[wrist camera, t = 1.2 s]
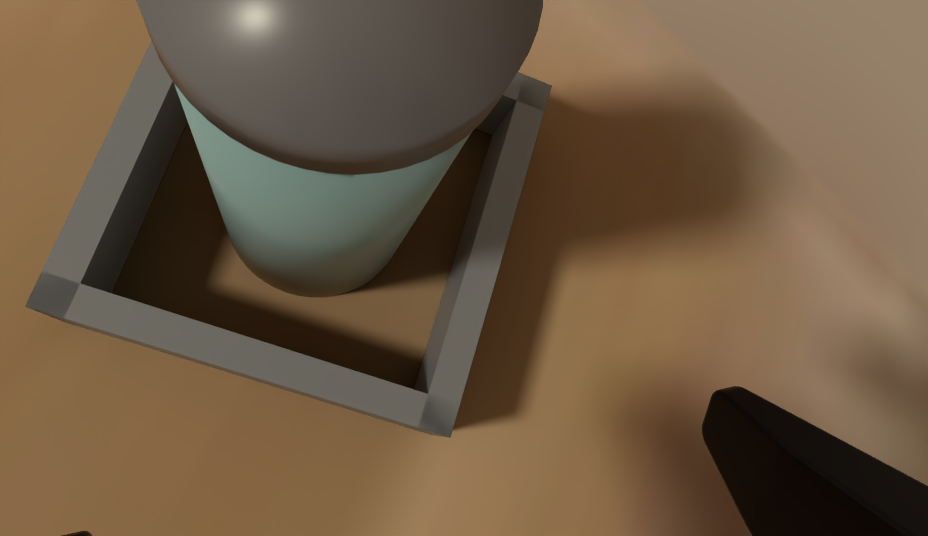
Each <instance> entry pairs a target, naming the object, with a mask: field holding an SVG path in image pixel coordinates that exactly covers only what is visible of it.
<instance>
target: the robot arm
mask: <svg viewBox="0 0 928 536" xmlns="http://www.w3.org/2000/svg"><path fill="white" fill-rule="evenodd" d="M702 434H703V438H704V441H705V444H706V446H707V448H708V450H709V452H710V454H711V456H712V458H713V460H714V462H715V464H716V466H717V468H718V470H719V472H720V474H721V476H722V478H723V480H724V482H725V484H726V486H727V488H728V490H729V492H730V494H731V496H732V498H733V500H734V502H735V504H736V506H737V508H738V510H739V512H740V514H741V516H742V518H743V520H744V522H745V524H746V525H747V527H748V529H749V531H750V532H751V534H752V536H928V486H926V485H925V484H923V483H921V482H919V481H917V480H915V479H913V478H911V477H910V476H908V475H906V474H904V473H902V472H900V471H898V470H896V469H895V468H893V467H891V466H889V465H887V464H885V463H883V462H881V461H880V460H878V459H876V458H874V457H872V456H870V455H868V454H867V453H865V452H863V451H861V450H859V449H857V448H855V447H853V446H852V445H850V444H848V443H846V442H844V441H842V440H840V439H838V438H837V437H835V436H833V435H831V434H829V433H827V432H825V431H823V430H822V429H820V428H818V427H816V426H814V425H812V424H810V423H808V422H807V421H805V420H803V419H801V418H799V417H797V416H795V415H793V414H792V413H790V412H788V411H786V410H784V409H782V408H780V407H778V406H777V405H775V404H773V403H771V402H769V401H767V400H765V399H763V398H762V397H760V396H758V395H756V394H754V393H752V392H750V391H748V390H747V389H744V388H742V387H738V386H734V387H729V388H725V389H720V390H717V391H715V392H714V393H713V394H712V396H711V399H710V402H709V405H708V409H707V412H706V415H705V418H704V421H703V424H702ZM62 536H92V535H91V533H89V532H88V531H80V532H76V533H71V534H67V535H62Z"/></svg>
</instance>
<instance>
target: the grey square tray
mask: <svg viewBox="0 0 928 536" xmlns="http://www.w3.org/2000/svg"><path fill="white" fill-rule="evenodd" d="M551 87H552V86H551V85H549V84H546V83H544V82H541V81H539V80H536V79H534V78H531V77H529V76H526V75H524V74H521V73H519V72H517V74H516V75H515V77H514V78H513V80H512V81H511V83H510V84H509V86H508V87H507V89H506V90H505V92H504V94H503V95H502V97H501V98H500V100H499V101H498V103H497V104H496V105H495V107H494V108H493V109H492V111H491V112H490V113H489V114H488V116H487V117H486V118H485V119H484V121H483V122H482V123H481V124H480V125H479V126H477V127H476V128H475V129H478V130H480V131H483V132H485V133H488V134H491V135H492V137H491V140H490V143H489V147H488V150H487V153H486V156H485V160H484V163H483V166H482V169H481V173H480V176H479V179H478V182H477V186H476V189H475V192H474V195H473V199H472V202H471V205H470V208H469V212H468V215H467V218H466V221H465V225H464V228H463V231H462V234H461V238H460V241H459V244H458V247H457V251H456V254H455V257H454V260H453V264H452V267H451V270H450V273H449V276H448V280H447V283H446V286H445V289H444V293H443V296H442V299H441V302H440V306H439V309H438V312H437V315H436V319H435V322H434V325H433V328H432V332H431V335H430V338H429V341H428V345H427V348H426V351H425V354H424V358H423V361H422V364H421V367H420V371H419V374H418V377H417V380H416V384H415V387H414V389H411V388H408V387H405V386H401V385H398V384H395V383H392V382H389V381H386V380H382V379H379V378H376V377H373V376H370V375H367V374H364V373H360V372H357V371H354V370H351V369H348V368H345V367H342V366H338V365H335V364H332V363H329V362H326V361H323V360H320V359H316V358H313V357H310V356H307V355H304V354H301V353H298V352H294V351H291V350H288V349H285V348H282V347H279V346H276V345H272V344H269V343H266V342H263V341H260V340H257V339H253V338H250V337H247V336H244V335H241V334H238V333H235V332H231V331H228V330H225V329H222V328H219V327H216V326H213V325H209V324H206V323H203V322H200V321H197V320H194V319H191V318H187V317H184V316H181V315H178V314H175V313H172V312H169V311H165V310H162V309H159V308H156V307H153V306H150V305H147V304H143V303H140V302H137V301H134V300H131V299H128V298H124V297H121V296H118V295H115V294H112V291H113V289H114V286H115V284H116V282H117V280H118V277H119V275H120V273H121V271H122V268H123V266H124V264H125V262H126V259H127V257H128V255H129V253H130V250H131V248H132V246H133V244H134V241H135V239H136V237H137V234H138V232H139V230H140V228H141V225H142V223H143V221H144V219H145V216H146V214H147V212H148V210H149V207H150V205H151V203H152V201H153V198H154V196H155V194H156V192H157V189H158V187H159V185H160V183H161V180H162V178H163V176H164V173H165V171H166V169H167V167H168V164H169V162H170V160H171V158H172V155H173V153H174V151H175V149H176V146H177V144H178V142H179V140H180V137H181V135H182V133H183V131H184V128H185V126H186V124H187V122H188V121H187V118H186V115H185V112H184V109H183V107H182V104H181V101H180V98H179V96H178V93H177V90H176V87H175V84H174V82H173V81H172V80H171V78H170V76H169V74H168V73H167V71H166V69H165V68H164V66H163V64H162V63H161V61H160V59H159V57H158V54H157V52H156V50H155V47H154V45H153V42H152V41H151V43H150V45H149V47H148V49H147V51H146V53H145V56H144V58H143V60H142V62H141V64H140V66H139V68H138V70H137V72H136V75H135V77H134V79H133V81H132V83H131V85H130V87H129V89H128V91H127V93H126V96H125V98H124V100H123V102H122V104H121V106H120V108H119V110H118V112H117V115H116V117H115V119H114V121H113V123H112V125H111V127H110V129H109V131H108V133H107V136H106V138H105V140H104V142H103V144H102V146H101V148H100V150H99V152H98V155H97V157H96V159H95V161H94V163H93V165H92V167H91V169H90V171H89V173H88V176H87V178H86V180H85V182H84V184H83V186H82V188H81V190H80V192H79V195H78V197H77V199H76V201H75V203H74V205H73V207H72V209H71V211H70V213H69V216H68V218H67V220H66V222H65V224H64V226H63V228H62V230H61V232H60V235H59V237H58V239H57V241H56V243H55V245H54V247H53V249H52V251H51V253H50V256H49V258H48V260H47V262H46V264H45V266H44V268H43V270H42V272H41V275H40V277H39V279H38V281H37V283H36V285H35V287H34V289H33V291H32V293H31V296H30V298H29V300H28V302H27V304H26V307H28V308H31V309H33V310H36V311H38V312H41V313H43V314H46V315H48V316H51V317H53V318H56V319H58V320H61V321H64V322H67V323H70V324H73V325H77V326H80V327H83V328H86V329H90V330H93V331H96V332H99V333H103V334H106V335H109V336H112V337H116V338H119V339H122V340H125V341H129V342H132V343H135V344H138V345H142V346H145V347H148V348H151V349H155V350H158V351H161V352H164V353H168V354H171V355H174V356H177V357H181V358H184V359H187V360H190V361H194V362H197V363H200V364H203V365H206V366H210V367H213V368H216V369H219V370H223V371H226V372H229V373H232V374H236V375H239V376H242V377H245V378H249V379H252V380H255V381H258V382H262V383H265V384H268V385H271V386H275V387H278V388H281V389H284V390H288V391H291V392H294V393H297V394H301V395H304V396H307V397H310V398H314V399H317V400H320V401H323V402H327V403H330V404H333V405H336V406H340V407H343V408H346V409H349V410H353V411H356V412H359V413H362V414H366V415H369V416H372V417H375V418H379V419H382V420H385V421H388V422H392V423H395V424H398V425H401V426H405V427H408V428H411V429H414V430H418V431H421V432H424V433H427V434H430V435H437V436H443V437H451V434H452V430H453V427H454V423H455V420H456V416H457V413H458V409H459V406H460V402H461V399H462V396H463V392H464V389H465V385H466V382H467V378H468V375H469V371H470V368H471V364H472V361H473V357H474V354H475V350H476V347H477V344H478V340H479V337H480V333H481V330H482V326H483V323H484V319H485V316H486V312H487V309H488V305H489V302H490V298H491V295H492V292H493V288H494V285H495V281H496V278H497V274H498V271H499V267H500V264H501V260H502V257H503V253H504V250H505V246H506V243H507V240H508V236H509V233H510V229H511V226H512V222H513V219H514V215H515V212H516V208H517V205H518V201H519V198H520V194H521V191H522V187H523V184H524V181H525V177H526V174H527V170H528V167H529V163H530V160H531V156H532V153H533V149H534V146H535V142H536V139H537V135H538V132H539V129H540V125H541V122H542V118H543V115H544V111H545V108H546V104H547V101H548V97H549V94H550V90H551Z"/></svg>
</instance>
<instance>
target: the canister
mask: <svg viewBox="0 0 928 536" xmlns="http://www.w3.org/2000/svg"><path fill="white" fill-rule="evenodd" d="M136 1H137V3H138V6H139V9H140V11H141V14H142V16H143V19H144V22H145V24H146V27H147V30H148V32H149V35H150V37H151V40H152V42H153V45H154V47H155V50H156V52H157V54H158V57H159V59H160V61H161V63H162V64H163V66H164V68H165V69H166V71H167V73H168V74H169V76H170V78H171V80H172V81H173V82H174V84H175V87H176V90H177V93H178V96H179V98H180V101H181V104H182V107H183V109H184V112H185V115H186V118H187V121H188V123H189V126H190V129H191V132H192V135H193V137H194V140H195V143H196V146H197V148H198V151H199V154H200V157H201V160H202V162H203V165H204V168H205V171H206V174H207V176H208V179H209V182H210V185H211V187H212V190H213V193H214V196H215V199H216V201H217V204H218V207H219V210H220V213H221V215H222V218H223V221H224V224H225V226H226V229H227V232H228V235H229V237H230V240H231V242H232V245H233V247H234V249H235V250H236V252H237V254H238V256H239V257H240V259H241V260H242V261H243V262H244V264H245V265H246V266H247V267H248V268H249V269H250V270H251V271H252V272H253V273H254V274H255V275H256V276H258V277H259V278H260V279H262V280H263V281H264V282H266V283H268V284H269V285H271V286H273V287H275V288H277V289H279V290H282V291H284V292H287V293H291V294H294V295H298V296H305V297H328V296H335V295H339V294H343V293H347V292H349V291H352V290H354V289H357V288H359V287H360V286H362V285H364V284H366V283H367V282H369V281H370V280H371V279H373V278H374V277H375V276H376V275H377V274H378V273H380V272H381V271H382V270H383V269H384V267H385V266H386V265H387V264H388V262H389V261H390V260H391V258H392V257H393V255H394V253H395V252H396V250H397V249H398V247H399V246H400V244H401V242H402V241H403V239H404V238H405V236H406V235H407V233H408V231H409V230H410V228H411V227H412V225H413V224H414V222H415V220H416V219H417V217H418V216H419V214H420V213H421V211H422V209H423V208H424V206H425V205H426V203H427V202H428V200H429V198H430V197H431V195H432V194H433V192H434V191H435V189H436V187H437V186H438V184H439V183H440V181H441V180H442V178H443V176H444V175H445V173H446V172H447V170H448V169H449V167H450V165H451V164H452V162H453V161H454V159H455V158H456V156H457V154H458V153H459V151H460V150H461V148H462V147H463V145H464V143H465V142H466V140H467V139H468V137H469V136H470V134H471V132H472V131H473V130H474V129H475V128H476V127H477V126H479V125H480V124H481V123H482V122H483V121H484V119H485V118H486V117H487V116H488V114H489V113H490V112H491V111H492V109H493V108H494V107H495V105H496V104H497V103H498V101H499V100H500V98H501V97H502V95H503V94H504V92H505V90H506V89H507V87H508V86H509V84H510V83H511V81H512V80H513V78H514V77H515V75H516V74H517V72H518V71H519V69H520V67H521V65H522V64H523V62H524V60H525V58H526V57H527V55H528V53H529V51H530V49H531V46H532V44H533V41H534V38H535V36H536V33H537V31H538V26H539V22H540V17H541V13H542V8H543V0H136Z"/></svg>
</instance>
